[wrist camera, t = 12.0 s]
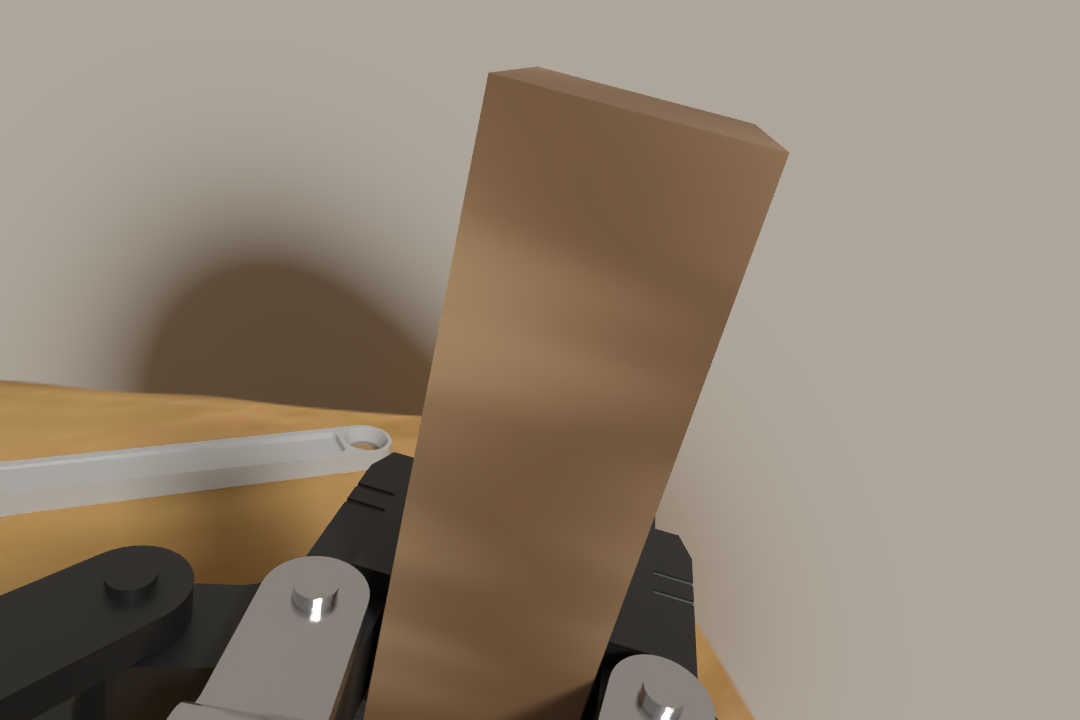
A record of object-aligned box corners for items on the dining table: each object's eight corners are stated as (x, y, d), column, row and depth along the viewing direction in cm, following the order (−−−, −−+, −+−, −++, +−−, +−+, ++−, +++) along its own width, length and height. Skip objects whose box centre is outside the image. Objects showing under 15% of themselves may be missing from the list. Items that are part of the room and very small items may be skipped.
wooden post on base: (165, 1380, 10) (258, 78, 3) (391, 781, 18) (555, 58, 11) (375, 1456, 10) (975, 273, 3) (507, 818, 18) (748, 109, 11)
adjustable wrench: (378, 445, 41) (382, 418, 40) (415, 519, 36) (421, 489, 35) (-265, 488, 28) (-275, 448, 27) (-344, 611, 23) (-359, 567, 22)
